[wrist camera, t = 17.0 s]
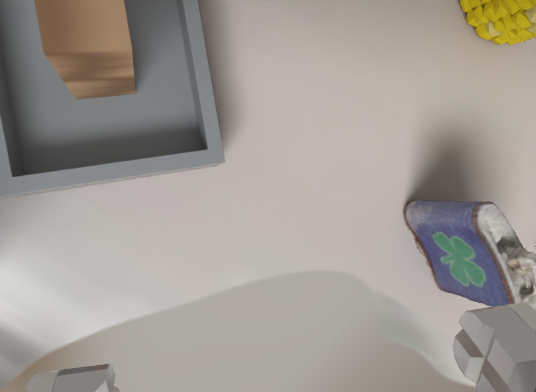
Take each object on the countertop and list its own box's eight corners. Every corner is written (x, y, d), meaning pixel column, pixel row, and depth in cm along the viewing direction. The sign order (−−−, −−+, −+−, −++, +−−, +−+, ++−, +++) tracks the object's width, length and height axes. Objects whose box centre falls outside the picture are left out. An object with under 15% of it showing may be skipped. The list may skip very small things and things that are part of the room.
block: (126, 37, 31) (117, -35, 21) (135, 93, 31) (131, 46, 21) (65, 41, 30) (27, -34, 20) (76, 99, 30) (43, 52, 20)
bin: (180, -43, 33) (184, -75, 29) (215, 166, 34) (225, 161, 30) (-29, -39, 29) (-56, -75, 25) (16, 196, 30) (-4, 196, 26)
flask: (397, 208, 38) (492, 212, 28) (422, 192, 39) (524, 190, 28) (440, 298, 39) (547, 333, 29) (464, 281, 40) (576, 309, 30)
